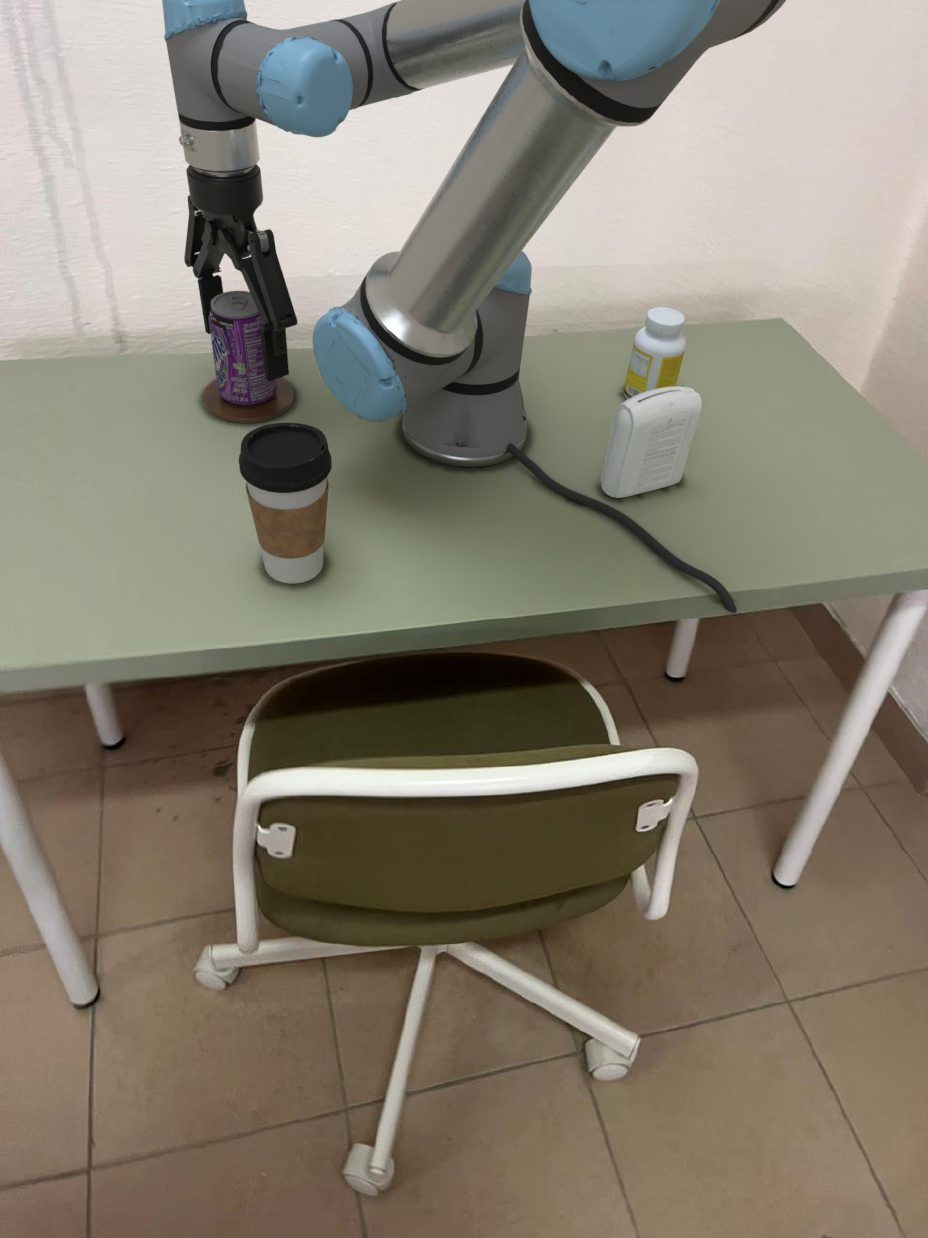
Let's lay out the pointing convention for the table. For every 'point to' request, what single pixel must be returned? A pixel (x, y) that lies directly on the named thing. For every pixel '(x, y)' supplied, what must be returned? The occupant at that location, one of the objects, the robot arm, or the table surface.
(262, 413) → the coaster
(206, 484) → the table surface
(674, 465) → the photo printer
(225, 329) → the beverage can
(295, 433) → the coffee cup
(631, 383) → the pill bottle
